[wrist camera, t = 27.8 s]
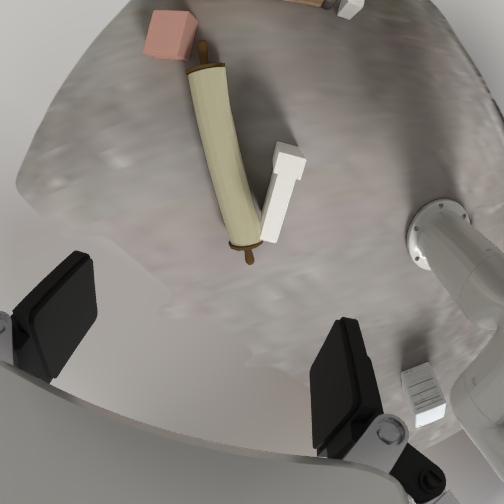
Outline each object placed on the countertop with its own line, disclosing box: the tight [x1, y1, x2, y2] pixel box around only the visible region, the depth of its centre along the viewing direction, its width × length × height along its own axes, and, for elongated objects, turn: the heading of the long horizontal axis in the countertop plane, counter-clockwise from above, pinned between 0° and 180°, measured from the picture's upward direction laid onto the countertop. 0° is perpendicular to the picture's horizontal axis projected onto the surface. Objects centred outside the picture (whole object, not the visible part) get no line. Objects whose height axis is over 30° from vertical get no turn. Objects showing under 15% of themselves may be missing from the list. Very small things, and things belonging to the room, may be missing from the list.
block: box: [143, 10, 198, 61], centre depth 30 cm, size 4×6×6 cm
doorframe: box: [260, 0, 365, 243], centre depth 32 cm, size 5×33×9 cm, turn 166°
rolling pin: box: [186, 40, 263, 265], centre depth 38 cm, size 32×6×5 cm, turn 11°
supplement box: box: [401, 362, 446, 428], centre depth 54 cm, size 7×7×13 cm
